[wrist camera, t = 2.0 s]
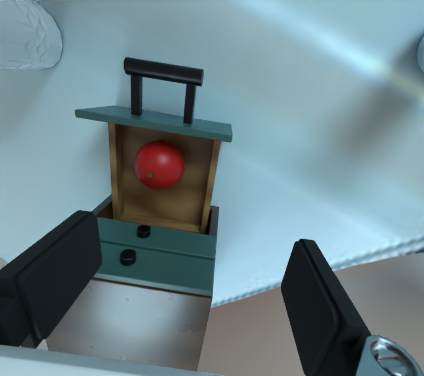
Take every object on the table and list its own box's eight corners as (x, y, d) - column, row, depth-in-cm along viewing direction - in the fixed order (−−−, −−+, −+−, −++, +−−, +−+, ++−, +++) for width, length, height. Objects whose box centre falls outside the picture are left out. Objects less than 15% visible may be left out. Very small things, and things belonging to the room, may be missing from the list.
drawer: (112, 58, 25) (67, 44, 18) (239, 78, 25) (244, 73, 18) (118, 208, 33) (89, 239, 26) (213, 224, 33) (209, 259, 26)
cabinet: (115, 180, 32) (20, 254, 17) (220, 198, 32) (215, 286, 17) (119, 268, 39) (54, 372, 24) (205, 282, 39) (191, 394, 24)
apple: (135, 158, 28) (109, 177, 22) (162, 126, 26) (142, 136, 20) (169, 187, 29) (154, 212, 23) (197, 158, 27) (189, 177, 21)
